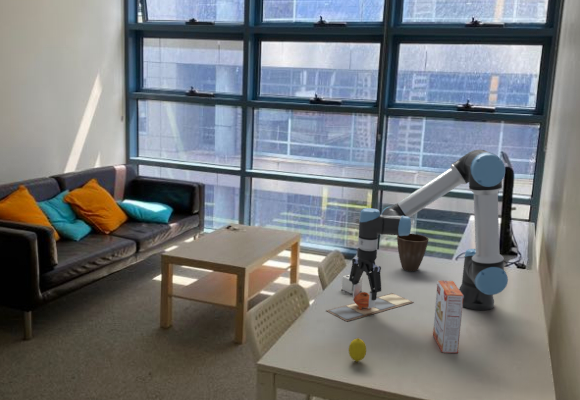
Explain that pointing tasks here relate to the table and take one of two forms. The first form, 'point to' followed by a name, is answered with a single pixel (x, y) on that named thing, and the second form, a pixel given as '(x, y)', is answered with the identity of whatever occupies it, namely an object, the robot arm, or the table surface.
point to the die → (349, 284)
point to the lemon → (357, 349)
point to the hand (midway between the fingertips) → (363, 303)
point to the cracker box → (448, 316)
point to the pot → (362, 300)
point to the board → (381, 305)
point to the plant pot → (411, 250)
